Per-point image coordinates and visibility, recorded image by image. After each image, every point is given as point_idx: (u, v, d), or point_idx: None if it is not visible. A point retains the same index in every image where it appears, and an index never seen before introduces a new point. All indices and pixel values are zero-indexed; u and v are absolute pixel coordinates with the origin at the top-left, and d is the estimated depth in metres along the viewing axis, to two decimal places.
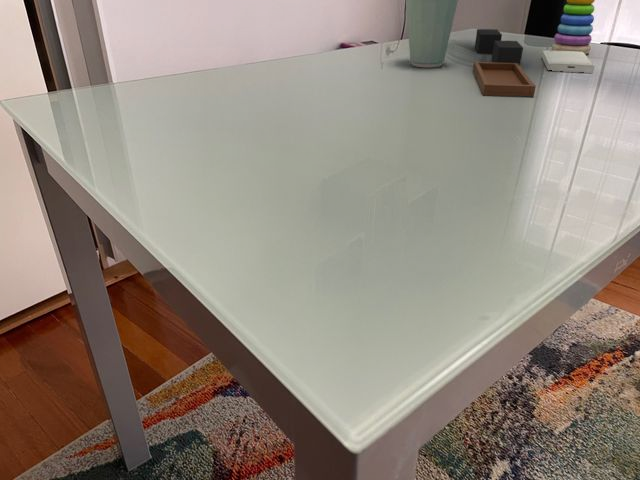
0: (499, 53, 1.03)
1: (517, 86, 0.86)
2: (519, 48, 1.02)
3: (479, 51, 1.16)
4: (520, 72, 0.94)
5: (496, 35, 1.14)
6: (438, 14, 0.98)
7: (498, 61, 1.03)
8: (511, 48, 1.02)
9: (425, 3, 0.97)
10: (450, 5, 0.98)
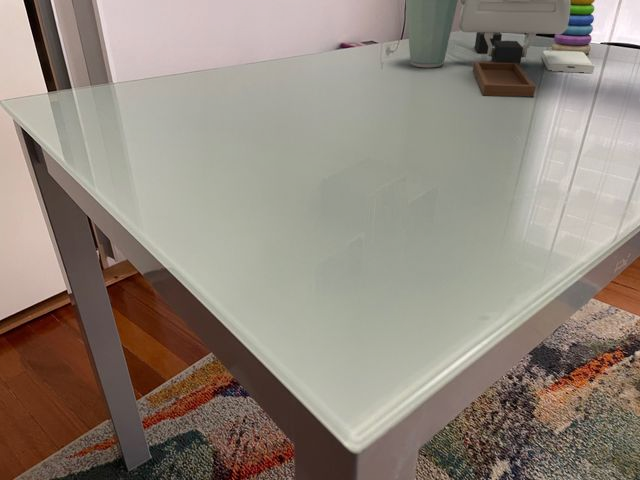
0: (499, 53, 1.03)
1: (517, 86, 0.86)
2: (519, 48, 1.02)
3: (479, 51, 1.16)
4: (520, 72, 0.94)
5: (496, 35, 1.14)
6: (438, 14, 0.98)
7: (498, 61, 1.03)
8: (511, 48, 1.02)
9: (425, 3, 0.97)
10: (450, 5, 0.98)
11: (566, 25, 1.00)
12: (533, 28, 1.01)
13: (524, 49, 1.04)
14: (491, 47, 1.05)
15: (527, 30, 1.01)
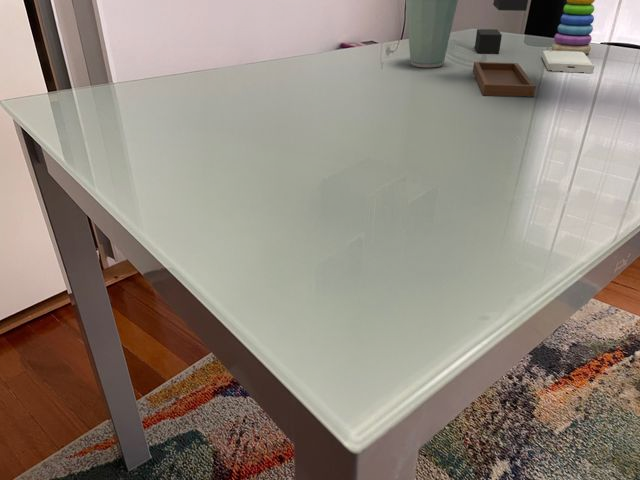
0: None
1: (517, 86, 0.86)
2: None
3: (479, 51, 1.16)
4: (520, 72, 0.94)
5: (496, 35, 1.14)
6: (438, 14, 0.98)
7: (501, 1, 0.88)
8: None
9: (425, 3, 0.97)
10: (450, 5, 0.98)
11: None
12: None
13: None
14: None
15: None
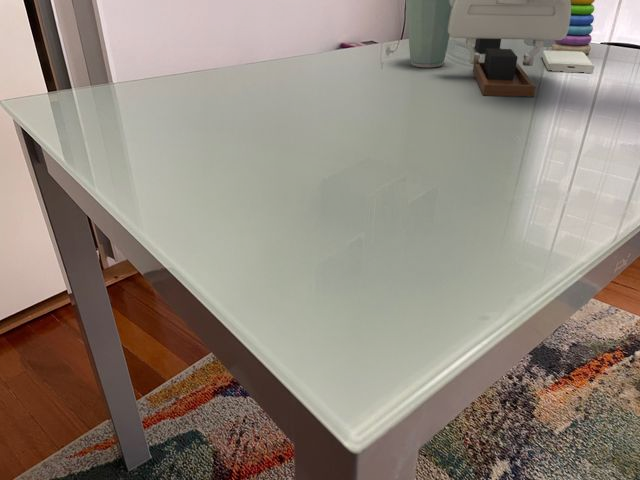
0: (491, 63, 0.93)
1: (517, 86, 0.86)
2: (513, 57, 0.92)
3: (479, 51, 1.16)
4: (520, 72, 0.94)
5: None
6: (438, 14, 0.98)
7: (490, 72, 0.93)
8: (504, 57, 0.92)
9: (425, 3, 0.97)
10: None
11: (566, 30, 0.90)
12: (530, 33, 0.91)
13: (530, 57, 0.94)
14: (473, 54, 0.95)
15: (523, 36, 0.91)
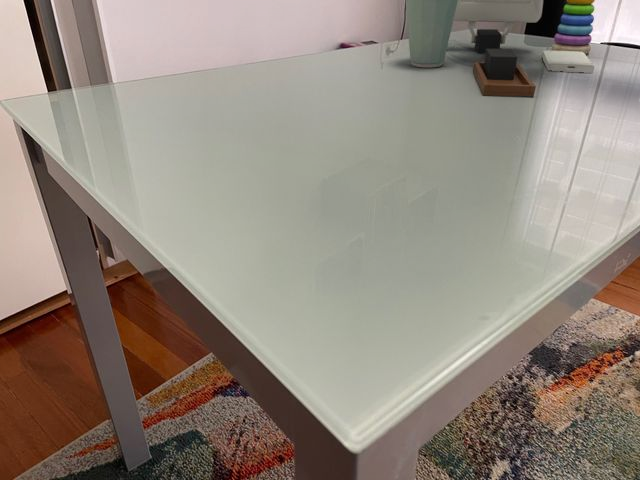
0: (491, 63, 0.93)
1: (517, 86, 0.86)
2: (513, 57, 0.92)
3: (479, 51, 1.16)
4: (520, 72, 0.94)
5: (496, 35, 1.14)
6: (438, 14, 0.98)
7: (490, 72, 0.93)
8: (504, 57, 0.92)
9: (425, 3, 0.97)
10: (450, 5, 0.98)
11: (540, 14, 1.12)
12: (510, 17, 1.13)
13: (503, 36, 1.16)
14: (474, 34, 1.17)
15: (505, 19, 1.14)
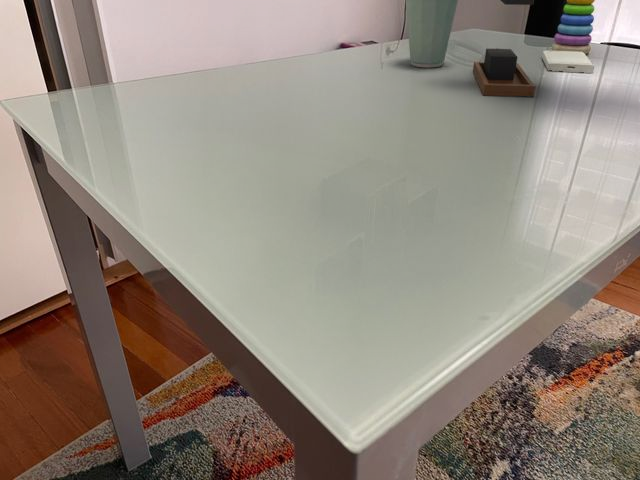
0: (491, 63, 0.93)
1: (517, 86, 0.86)
2: (513, 57, 0.92)
3: (507, 1, 0.84)
4: (520, 72, 0.94)
5: None
6: (438, 14, 0.98)
7: (490, 72, 0.93)
8: (504, 57, 0.92)
9: (425, 3, 0.97)
10: (450, 5, 0.98)
11: None
12: None
13: None
14: None
15: None
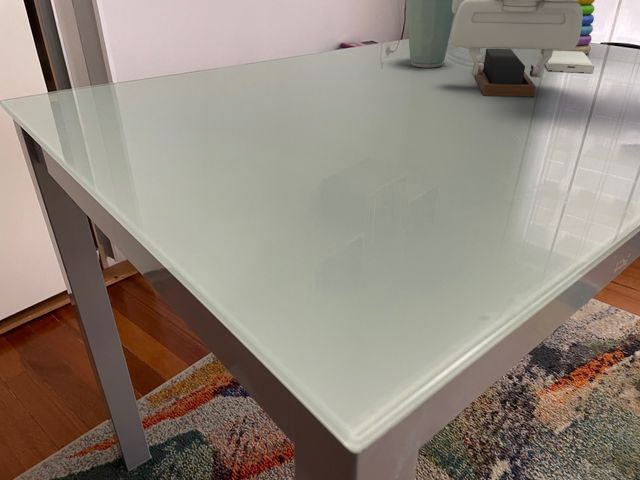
0: None
1: (517, 86, 0.86)
2: None
3: None
4: None
5: (518, 67, 0.86)
6: (438, 14, 0.98)
7: None
8: None
9: (425, 3, 0.97)
10: (450, 5, 0.98)
11: (577, 40, 0.84)
12: (538, 43, 0.85)
13: (538, 68, 0.88)
14: (477, 64, 0.89)
15: (531, 45, 0.85)
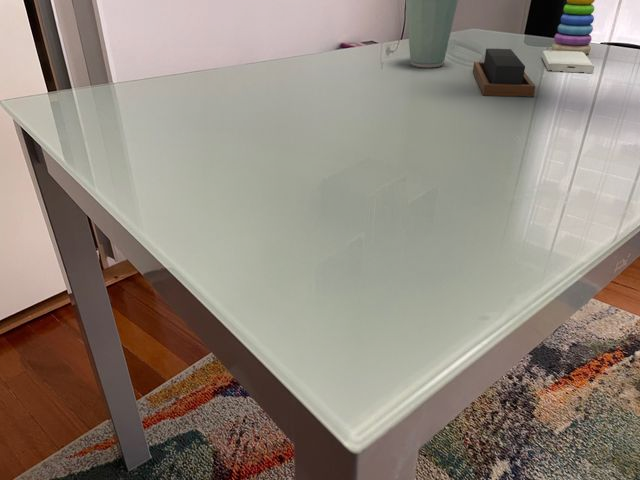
0: None
1: (517, 86, 0.86)
2: None
3: None
4: None
5: (518, 67, 0.86)
6: (438, 14, 0.98)
7: None
8: None
9: (425, 3, 0.97)
10: (450, 5, 0.98)
11: None
12: None
13: None
14: None
15: None
